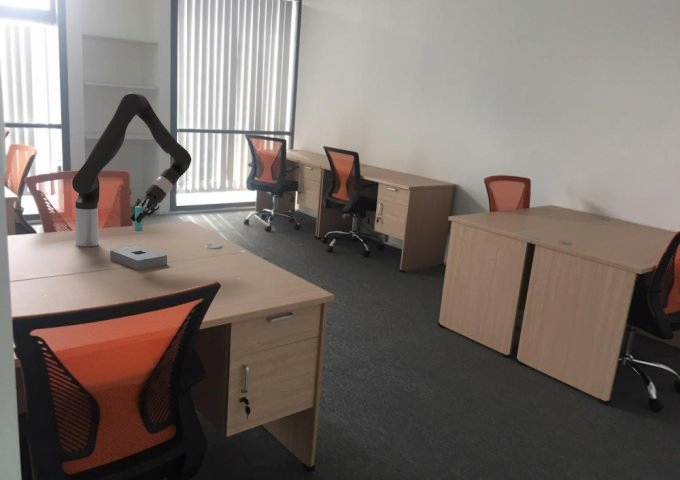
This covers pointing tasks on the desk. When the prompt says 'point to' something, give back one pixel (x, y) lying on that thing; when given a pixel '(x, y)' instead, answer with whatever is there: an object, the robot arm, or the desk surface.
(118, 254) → the hole block
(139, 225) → the peg
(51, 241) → the desk surface
